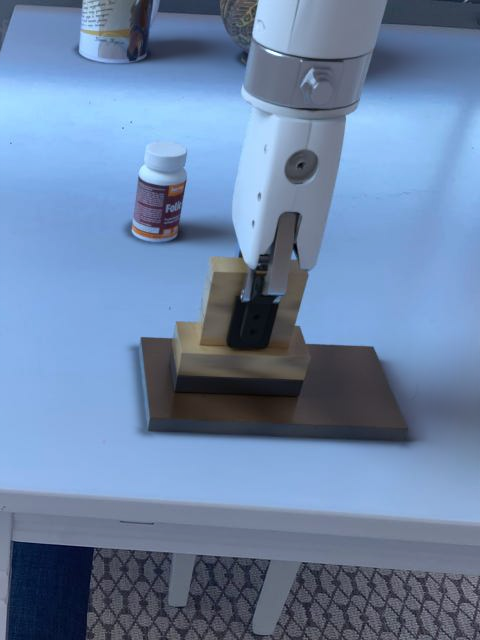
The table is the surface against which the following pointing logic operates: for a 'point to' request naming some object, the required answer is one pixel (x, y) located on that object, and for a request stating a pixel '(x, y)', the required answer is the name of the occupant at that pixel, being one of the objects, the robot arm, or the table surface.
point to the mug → (116, 29)
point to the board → (281, 399)
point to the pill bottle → (160, 192)
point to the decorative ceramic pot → (239, 22)
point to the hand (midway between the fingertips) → (243, 333)
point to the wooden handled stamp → (239, 363)
